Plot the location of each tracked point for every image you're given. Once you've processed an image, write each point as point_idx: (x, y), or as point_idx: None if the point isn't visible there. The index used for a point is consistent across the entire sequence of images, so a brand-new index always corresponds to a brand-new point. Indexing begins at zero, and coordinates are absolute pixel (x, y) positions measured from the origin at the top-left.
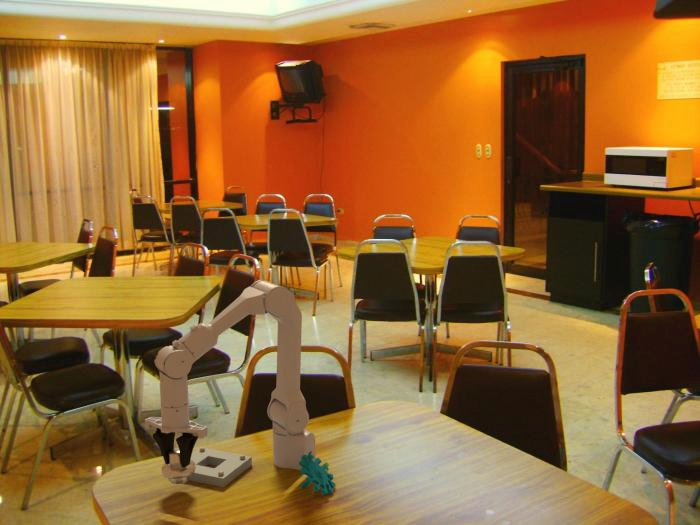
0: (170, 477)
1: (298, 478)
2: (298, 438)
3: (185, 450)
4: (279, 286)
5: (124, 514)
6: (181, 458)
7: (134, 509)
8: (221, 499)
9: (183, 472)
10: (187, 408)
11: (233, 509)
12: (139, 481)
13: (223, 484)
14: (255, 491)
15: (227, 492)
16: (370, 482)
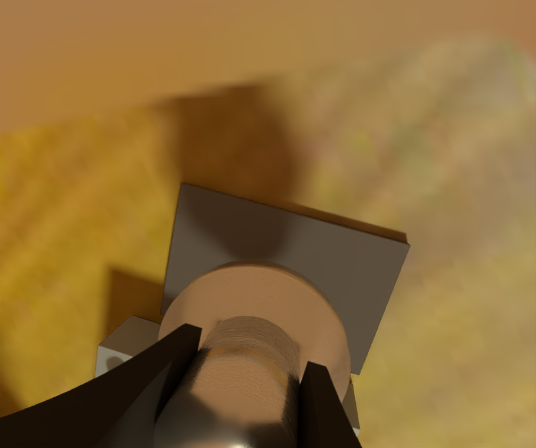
0: (265, 263)
1: None
2: None
3: (45, 403)
4: None
5: (450, 87)
6: (158, 358)
7: (417, 141)
8: (114, 263)
9: (192, 296)
10: None
11: (45, 200)
12: (479, 371)
13: (114, 331)
14: (38, 323)
15: (117, 311)
16: None
